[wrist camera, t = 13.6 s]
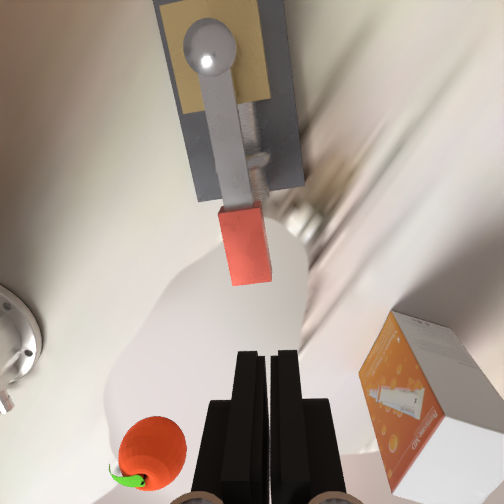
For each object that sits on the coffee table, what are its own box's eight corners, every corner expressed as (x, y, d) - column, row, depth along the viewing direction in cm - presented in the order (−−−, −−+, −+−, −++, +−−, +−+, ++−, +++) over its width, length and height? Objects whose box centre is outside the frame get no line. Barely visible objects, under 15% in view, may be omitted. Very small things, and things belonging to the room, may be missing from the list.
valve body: (304, 183, 32) (312, 208, 25) (200, 199, 33) (178, 228, 26) (268, -119, 25) (264, -210, 18) (137, -86, 26) (81, -159, 19)
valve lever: (234, 274, 27) (231, 286, 25) (184, 28, 22) (176, 22, 20) (273, 269, 27) (272, 281, 25) (232, 18, 21) (229, 11, 19)
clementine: (134, 452, 45) (109, 512, 39) (115, 406, 43) (85, 462, 36) (199, 445, 44) (185, 506, 37) (183, 398, 42) (165, 454, 35)
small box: (389, 308, 36) (446, 414, 24) (452, 327, 36) (538, 441, 24) (355, 373, 39) (390, 497, 27) (413, 391, 39) (473, 520, 27)
